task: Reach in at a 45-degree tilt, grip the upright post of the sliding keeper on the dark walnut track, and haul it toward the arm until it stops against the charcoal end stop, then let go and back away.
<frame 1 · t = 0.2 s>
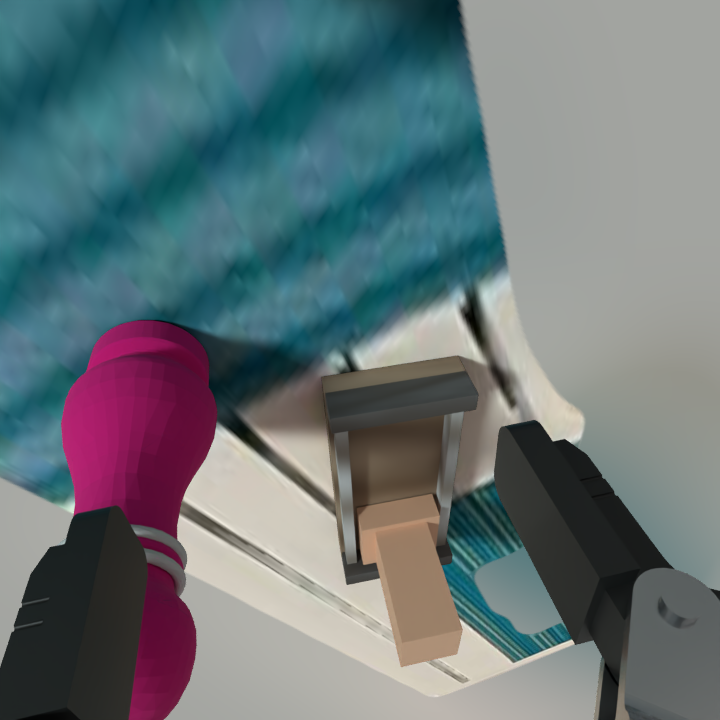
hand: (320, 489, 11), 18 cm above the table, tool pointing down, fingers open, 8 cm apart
keeper: (410, 577, 38), point 7 cm above the table, slide at 5.0 cm
track: (389, 464, 40), on the table
pepper mill: (152, 361, 30), on the table
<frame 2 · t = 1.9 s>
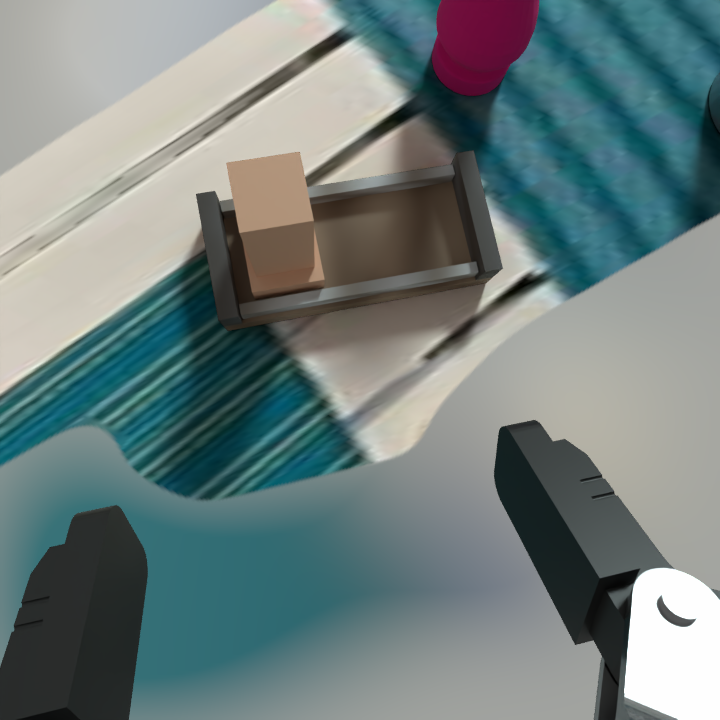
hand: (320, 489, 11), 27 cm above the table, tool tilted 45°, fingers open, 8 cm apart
keeper: (277, 227, 33), point 7 cm above the table, slide at 5.0 cm
track: (348, 249, 40), on the table
pepper mill: (468, 63, 43), on the table
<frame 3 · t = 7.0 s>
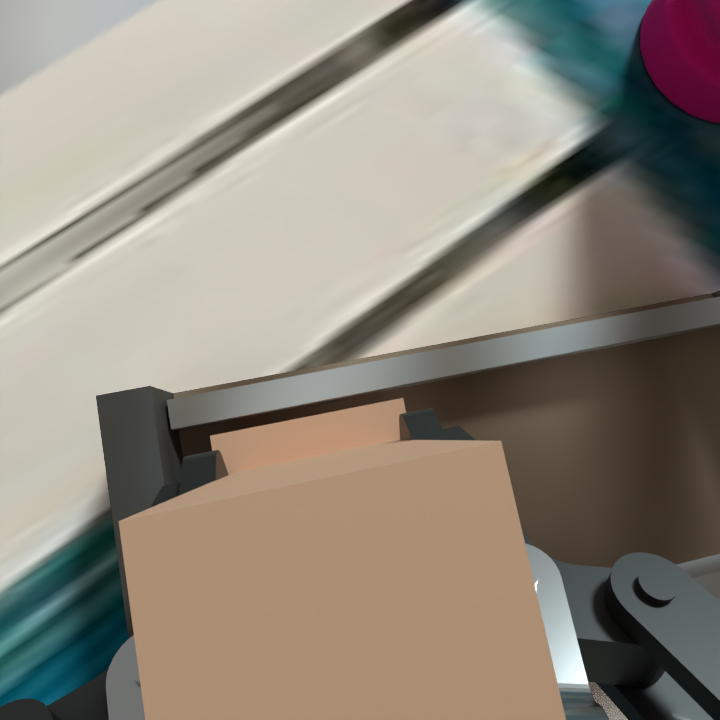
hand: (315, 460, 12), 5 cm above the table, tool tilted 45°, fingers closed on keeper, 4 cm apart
keeper: (335, 563, 10), point 7 cm above the table, slide at 5.0 cm, touching gripper
track: (476, 482, 17), on the table
pepper mill: (709, 55, 21), on the table
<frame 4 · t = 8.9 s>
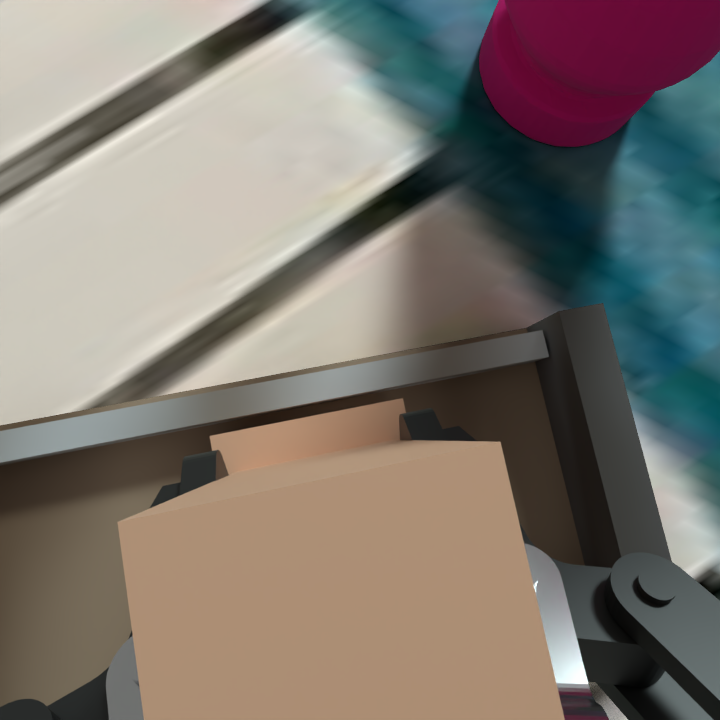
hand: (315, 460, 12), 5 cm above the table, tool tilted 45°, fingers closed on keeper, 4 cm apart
keeper: (334, 564, 10), point 7 cm above the table, slide at -1.5 cm, touching gripper
track: (279, 525, 16), on the table
pepper mill: (556, 75, 20), on the table
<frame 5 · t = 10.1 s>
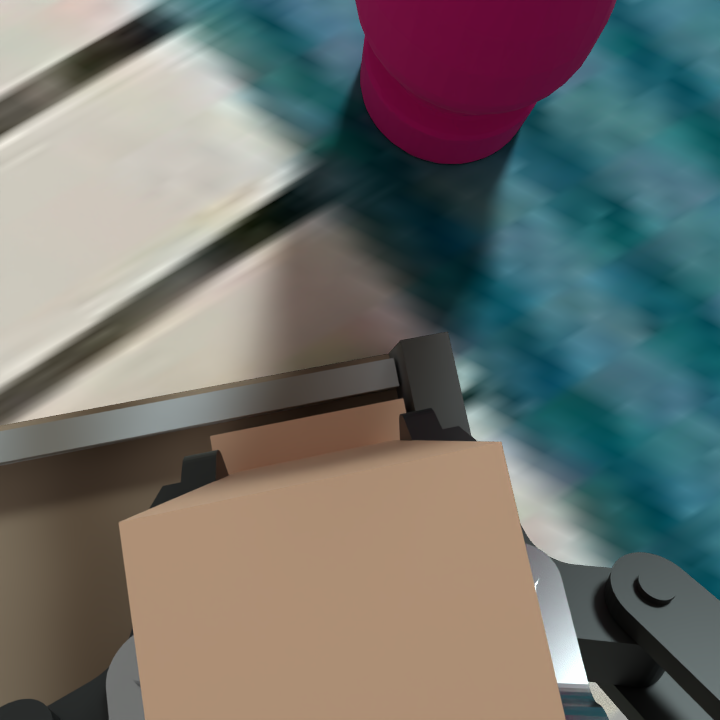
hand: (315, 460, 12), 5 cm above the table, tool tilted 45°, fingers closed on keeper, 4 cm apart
keeper: (335, 564, 10), point 7 cm above the table, slide at -6.0 cm, touching gripper
track: (133, 557, 16), on the table
pepper mill: (443, 90, 19), on the table
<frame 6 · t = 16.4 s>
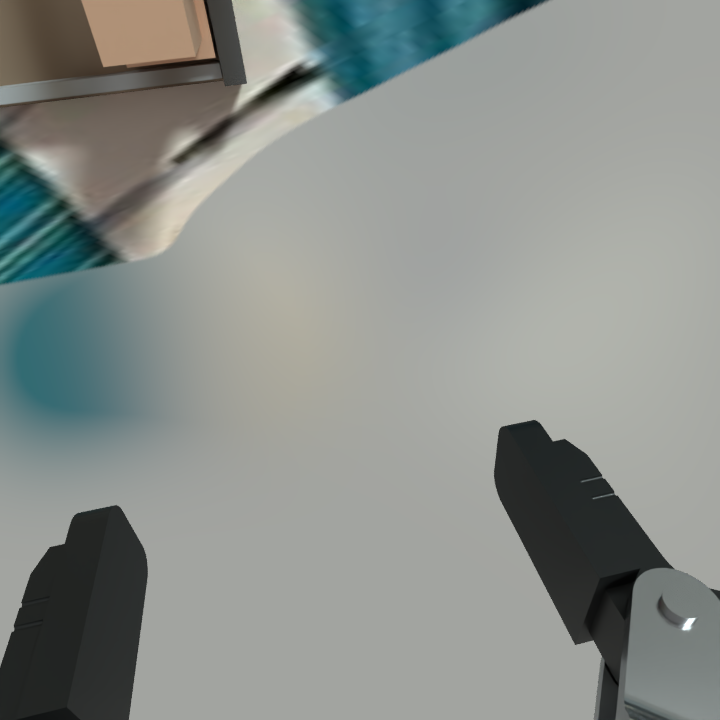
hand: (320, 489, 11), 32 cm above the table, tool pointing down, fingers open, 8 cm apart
keeper: (148, 2, 26), point 7 cm above the table, slide at -6.0 cm
track: (56, 7, 31), on the table
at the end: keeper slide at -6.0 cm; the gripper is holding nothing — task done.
